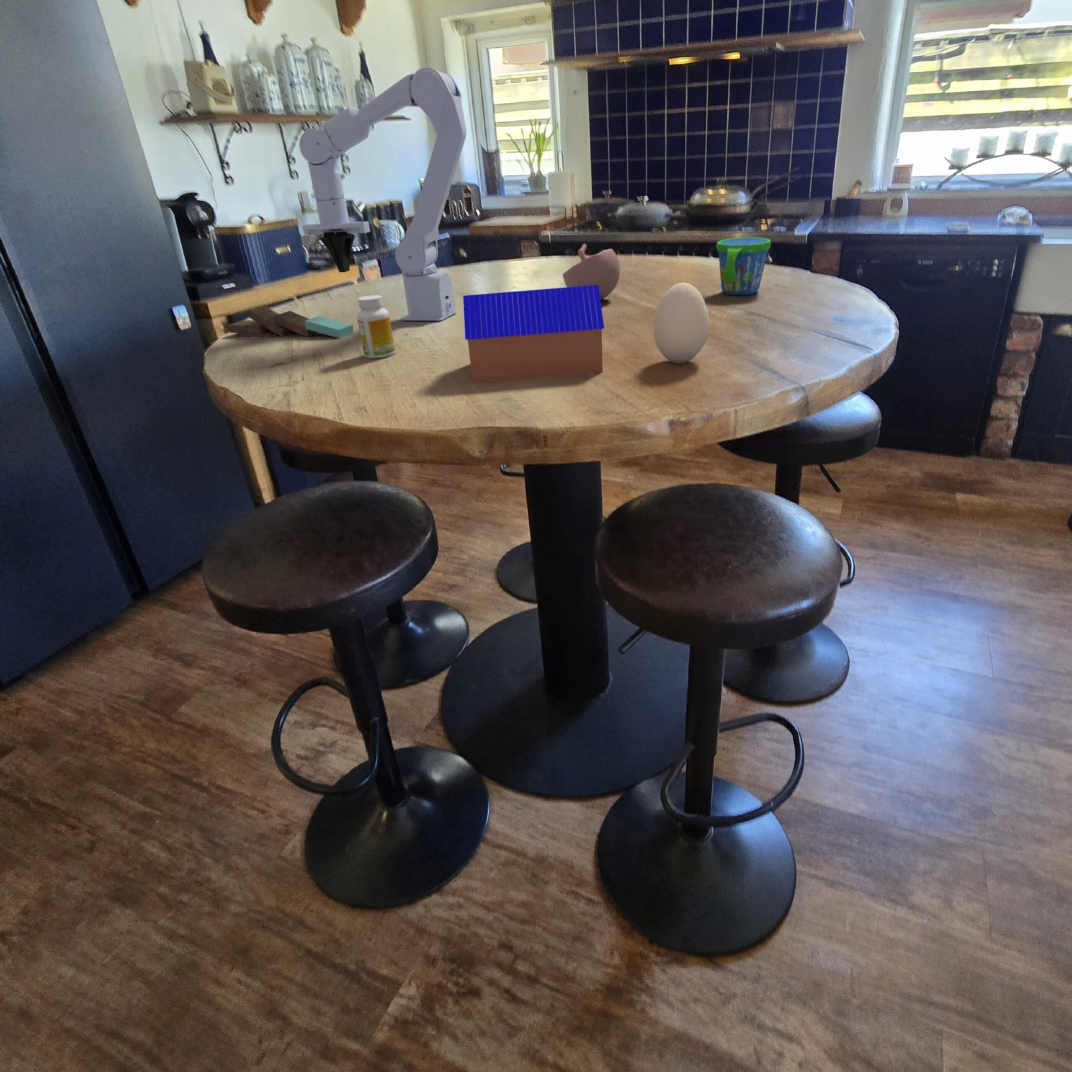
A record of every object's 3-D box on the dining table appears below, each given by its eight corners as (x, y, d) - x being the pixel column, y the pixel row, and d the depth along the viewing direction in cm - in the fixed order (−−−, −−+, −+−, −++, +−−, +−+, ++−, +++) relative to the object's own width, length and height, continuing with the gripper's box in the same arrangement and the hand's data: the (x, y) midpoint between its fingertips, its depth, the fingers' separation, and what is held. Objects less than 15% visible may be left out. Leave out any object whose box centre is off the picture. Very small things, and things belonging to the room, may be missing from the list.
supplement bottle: (401, 351, 122) (391, 293, 117) (385, 359, 117) (375, 300, 113) (374, 350, 123) (364, 294, 119) (358, 359, 119) (347, 300, 114)
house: (605, 374, 102) (603, 292, 96) (470, 385, 102) (460, 303, 96) (595, 353, 112) (593, 278, 107) (473, 363, 112) (465, 288, 107)
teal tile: (339, 338, 134) (305, 328, 136) (353, 332, 138) (320, 323, 140) (339, 330, 133) (305, 320, 135) (352, 324, 137) (319, 315, 139)
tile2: (322, 324, 140) (289, 310, 141) (308, 329, 136) (275, 315, 138) (321, 331, 141) (289, 318, 142) (307, 337, 137) (274, 323, 139)
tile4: (273, 320, 142) (243, 320, 145) (258, 325, 139) (228, 325, 141) (275, 328, 143) (245, 327, 146) (260, 333, 139) (230, 332, 142)
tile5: (281, 328, 142) (248, 329, 144) (269, 334, 139) (235, 334, 141) (283, 336, 143) (250, 336, 145) (271, 342, 139) (237, 342, 142)
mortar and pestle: (583, 294, 156) (581, 239, 150) (630, 297, 149) (630, 240, 144) (553, 305, 147) (550, 247, 142) (601, 308, 141) (600, 248, 135)
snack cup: (748, 301, 137) (752, 246, 132) (699, 298, 143) (702, 245, 138) (778, 287, 147) (783, 235, 142) (732, 284, 153) (735, 235, 148)
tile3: (296, 324, 142) (264, 305, 142) (282, 329, 138) (249, 310, 139) (295, 331, 142) (263, 312, 143) (281, 336, 139) (248, 317, 139)
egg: (650, 356, 107) (650, 280, 102) (701, 353, 107) (705, 276, 101) (656, 371, 100) (657, 289, 95) (711, 368, 100) (716, 285, 94)
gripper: (287, 203, 136) (303, 275, 143) (350, 199, 131) (364, 274, 138) (309, 199, 142) (323, 269, 148) (369, 196, 137) (382, 268, 144)
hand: (344, 271), depth 144 cm, fingers closed
